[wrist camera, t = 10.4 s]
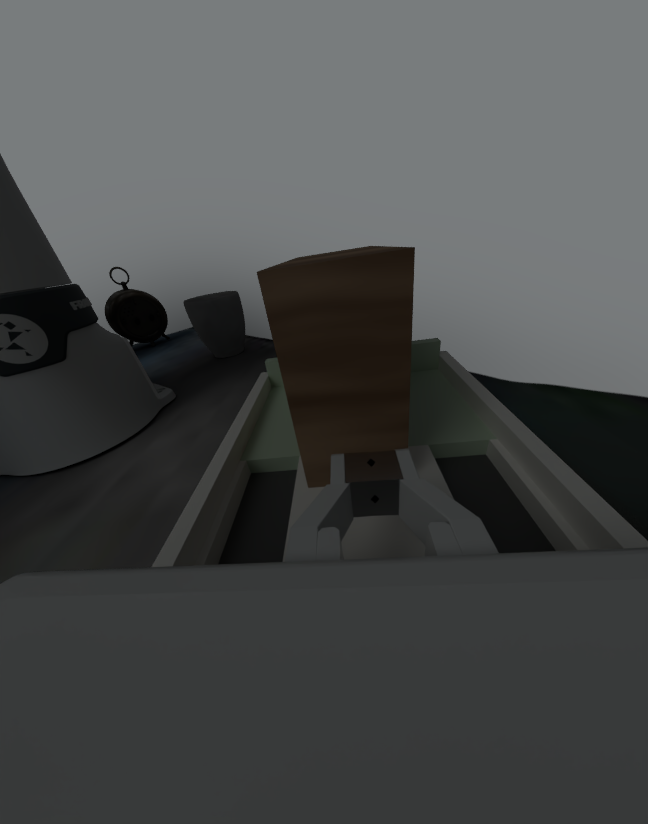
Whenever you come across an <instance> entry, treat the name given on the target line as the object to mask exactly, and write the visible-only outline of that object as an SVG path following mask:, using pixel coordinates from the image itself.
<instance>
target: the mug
mask: <svg viewBox="0 0 648 824" xmlns="http://www.w3.org/2000/svg"><path fill="white" fill-rule="evenodd" d="M184 306H185V309H186V312H187V314H188V316H189V319H190V321H191V323H192V325H193V327H194V329H195V331H196V332H197V334H198V336H199V337H200V339H201V340H202V341H203V343H204V344H205V345H206V346H207V347H208V348H209V350H210V351H211V352H212V353H213V354H214V356H215V357H217V358H225V357H230V356H234V355H237V354H239V353H241V352H243V351H244V340H245V321H244V314H243V309H242V305H241V301H240V297H239V294H238V292H236V291H226V292H219V293H213V294H208V295H203V296H198V297H195V298H191V299H188V300H185V301H184Z"/></svg>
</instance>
